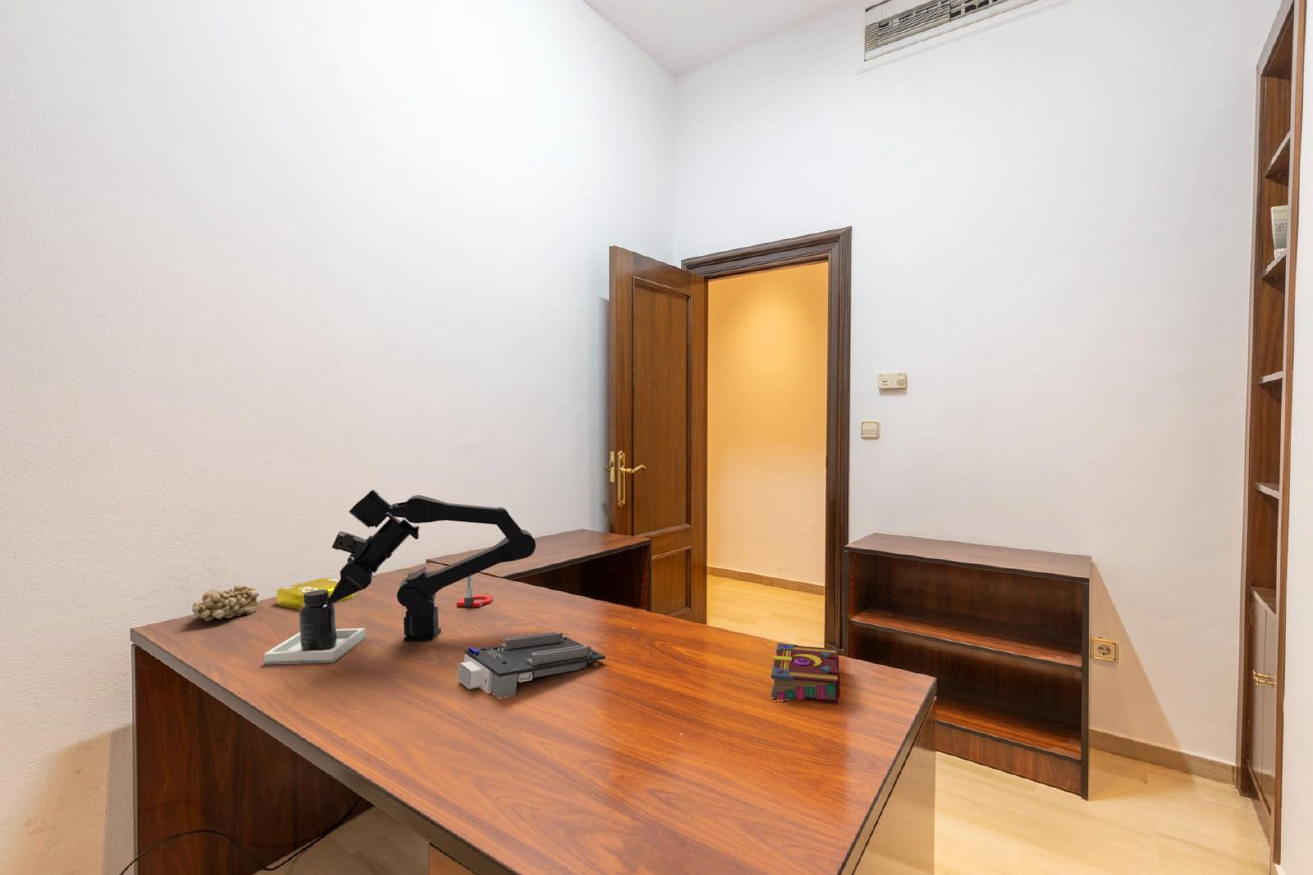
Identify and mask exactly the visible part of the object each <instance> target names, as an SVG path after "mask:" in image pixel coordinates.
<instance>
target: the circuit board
mask: <svg viewBox="0 0 1313 875" xmlns="http://www.w3.org/2000/svg"><path fill="white" fill-rule="evenodd" d="M605 659H606V655H604V654H602V653H600V652H599V651H596V650H593V649H592V646H589V645H586V644H582V643H580V642H578V641H576V640H573V639H572V638H569V637H568V636H564V633H563V632H559V631H551V632H542V633H536V634H527V635H520V636H512V637H510V636H509V637H505V642H504V643H500V645H494V646H487V647H481V648H479V647H478V648H476V647H474V646H468V649H466V650H464V659H463V662H459V663H458V667H457V668H458V669H457V674H456V679H457V681H458V682H460V683H461V684H462V685H464V686H465V688H467V689H469V690H472V689H477V688H479V687H480V688H482V689H483V690H484V691H486V692H487V693H488V692H492V693H494V695H495V696H494V695H493V696H494V697H496V696H497V697H499V698H500V699H501V698H504V697H507V696H510V697H512V696H511V695H513V694H517V683H518V682H519V683H523V682H528V681H532V680H533V678H539V677H544V676H550V675H556V674H562V673H567V672H568V673H569V672H571V671H572V672H573V671H577V670H576V669H578V668H581V669H583V667H584V668H586V667H587V663H592V662H595V661H600V660H605ZM578 670H579V669H578ZM480 688H479V689H480ZM483 690H482V691H483ZM484 691H483V692H484ZM487 693H486V694H487ZM492 693H491V694H492ZM488 694H489V693H488ZM513 696H514V695H513ZM497 697H496V698H497ZM507 698H508V697H507ZM504 699H505V698H504ZM501 700H502V699H501Z"/></svg>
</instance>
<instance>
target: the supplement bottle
mask: <svg viewBox="0 0 1313 875" xmlns="http://www.w3.org/2000/svg"><path fill="white" fill-rule="evenodd" d="M303 598H304V600H303V603H304V604H305V605H304V606H303V607H302V608H301V609H300V610H299V611H298V620H299V623H298V624H299V632H300V640H301V649H302V650H303V651H320V650H326V649H329V648H331V647H333V646H334V645H335V644H336V642H337V635H336V629H337V620H336V606H335V603H333V604H329V603H328V602H327V600H328V598H329V591H328V590H314V591H310V592H307V593H305V594H303Z"/></svg>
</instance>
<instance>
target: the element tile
mask: <svg viewBox="0 0 1313 875" xmlns="http://www.w3.org/2000/svg"><path fill="white" fill-rule="evenodd" d="M339 580H340V579H336V578H330V577H322V578H321V577H320V578H318V579H317V578H316V579H313V580H309V581H305V582H301V583H297V584H293V585H290V586H285V587H281V588H278V589H277V590H276V604H277V606H282V607H285V608H291V609H295V610H299V611H300V609H301V608H302V607H303V606H304V605H305V604H304V603H303V600H304V598H303V594H305V593H307V592H310V591H314V590H328V591H329V597H330V595H331V594H332V593H333V591H334V590H333V589H334V588H335V586H336V585H337V583H338V582H339ZM354 597H356V593H354V594H351V595H349V596H347V597H345V598H343V599H341V600H339V601H337V602H335V603H338V602H342V601H346V600H350V599H352V598H354ZM335 603H334V604H335Z"/></svg>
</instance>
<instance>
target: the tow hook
mask: <svg viewBox="0 0 1313 875" xmlns="http://www.w3.org/2000/svg"><path fill="white" fill-rule="evenodd" d="M472 576H473V575H471V576H469V577H467V578H466V587H465V590H466V591H465V593H466V594H465V596H464V597H462V598H461V599H459V601H458V600H457V602H456V607H457V608H458V607H459V608H471V609H472V608H482V606H483V605H487V604H490V603H492V602H493V601H494V600H493V597H492V596H490V595H485V594H484V595H481V594H479V595H473V587H472V578H473V577H472ZM475 600H477V601H475Z"/></svg>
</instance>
